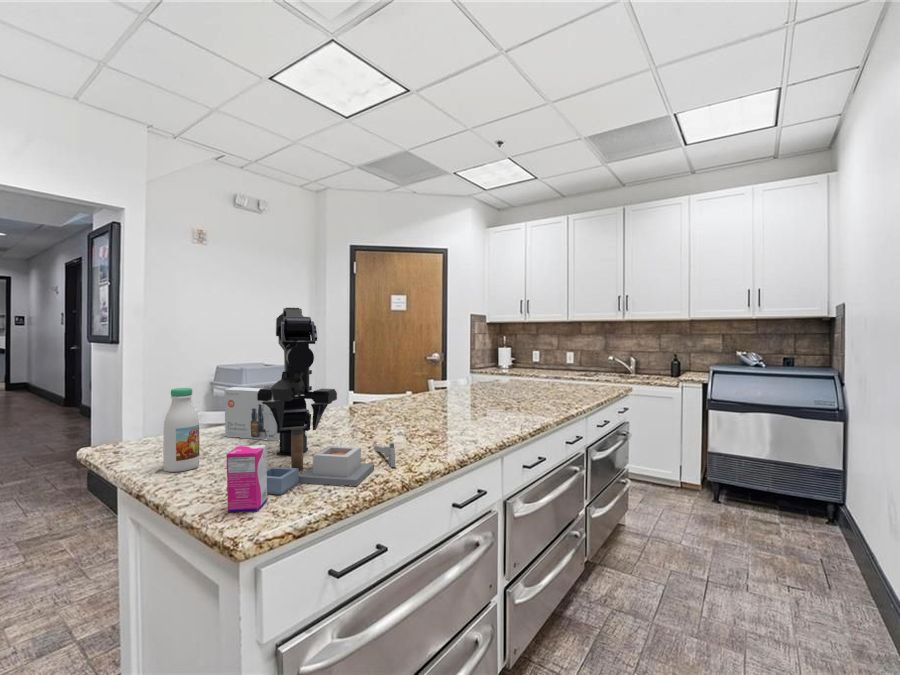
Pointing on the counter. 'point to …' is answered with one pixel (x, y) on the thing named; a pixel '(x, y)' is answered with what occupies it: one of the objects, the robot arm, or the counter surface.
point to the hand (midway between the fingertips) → (297, 429)
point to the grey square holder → (337, 467)
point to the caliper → (387, 453)
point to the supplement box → (246, 478)
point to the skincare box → (248, 415)
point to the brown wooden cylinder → (297, 448)
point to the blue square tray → (281, 479)
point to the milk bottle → (181, 433)
